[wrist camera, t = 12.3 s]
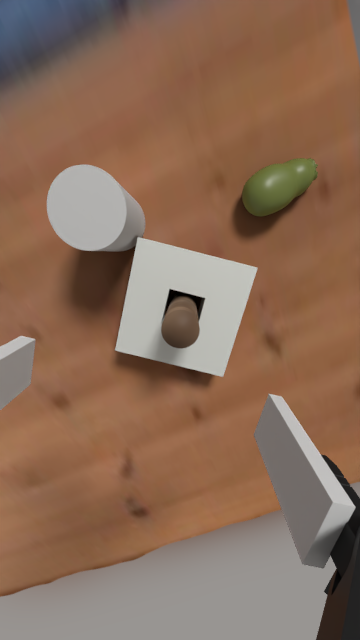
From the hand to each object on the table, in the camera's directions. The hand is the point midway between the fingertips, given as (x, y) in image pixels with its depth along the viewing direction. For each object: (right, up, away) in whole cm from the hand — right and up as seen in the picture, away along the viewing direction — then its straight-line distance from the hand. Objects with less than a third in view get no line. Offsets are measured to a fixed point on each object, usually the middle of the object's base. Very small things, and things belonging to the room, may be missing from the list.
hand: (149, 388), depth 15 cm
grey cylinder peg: (-7, +18, +24) cm, 31 cm away
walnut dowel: (+2, +6, +27) cm, 27 cm away
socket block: (+2, +6, +27) cm, 27 cm away
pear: (+15, +22, +23) cm, 35 cm away
